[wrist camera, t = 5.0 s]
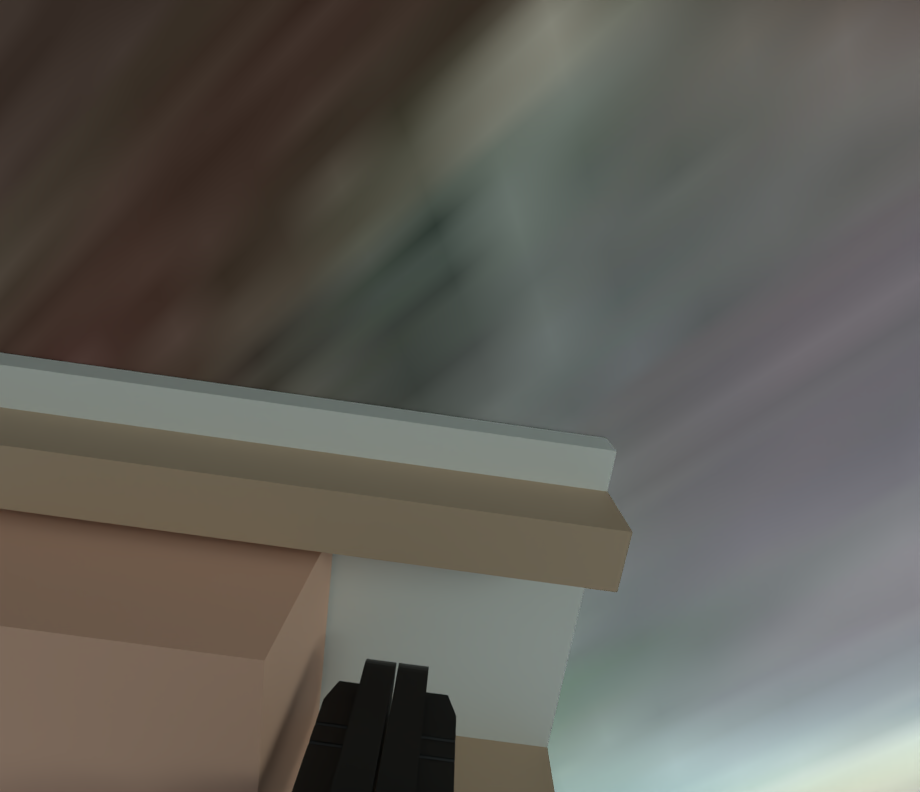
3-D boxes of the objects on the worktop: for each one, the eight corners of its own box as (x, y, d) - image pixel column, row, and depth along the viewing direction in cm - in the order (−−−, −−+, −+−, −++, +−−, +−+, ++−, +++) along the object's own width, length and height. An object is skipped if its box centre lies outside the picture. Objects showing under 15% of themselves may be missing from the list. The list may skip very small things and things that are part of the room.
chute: (605, 437, 13) (644, 485, 10) (527, 781, 16) (540, 893, 13) (-227, 320, 13) (-431, 335, 10) (-150, 693, 16) (-290, 789, 13)
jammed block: (334, 526, 13) (264, 660, 8) (318, 712, 14) (251, 909, 10) (22, 483, 13) (-217, 597, 8) (39, 676, 14) (-155, 859, 10)
